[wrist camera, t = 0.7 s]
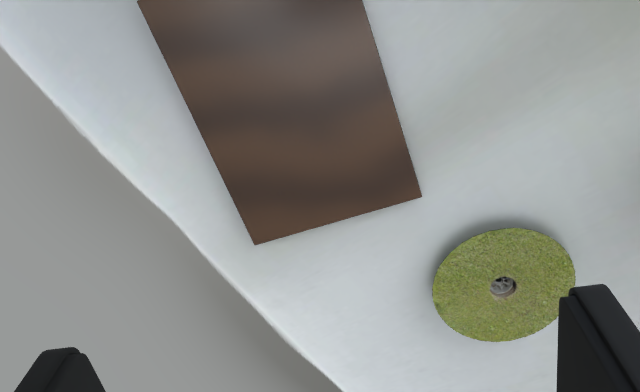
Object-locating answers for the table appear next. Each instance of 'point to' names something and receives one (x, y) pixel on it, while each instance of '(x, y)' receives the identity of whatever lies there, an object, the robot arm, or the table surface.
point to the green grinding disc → (503, 284)
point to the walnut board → (288, 107)
